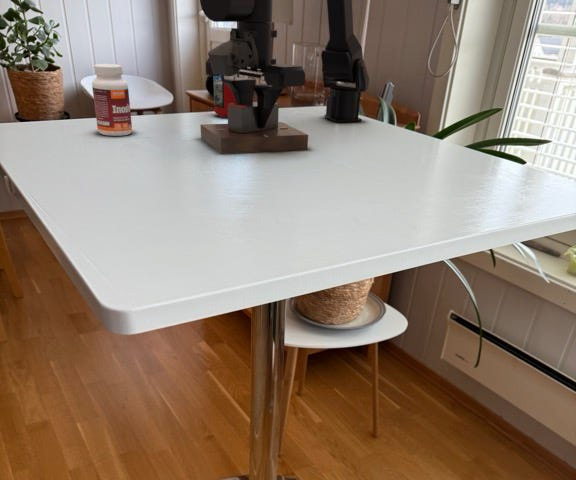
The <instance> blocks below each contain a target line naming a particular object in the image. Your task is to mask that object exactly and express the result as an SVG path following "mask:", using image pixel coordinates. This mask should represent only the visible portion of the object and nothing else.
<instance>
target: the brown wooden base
mask: <svg viewBox="0 0 576 480" xmlns="http://www.w3.org/2000/svg"><path fill="white" fill-rule="evenodd" d="M200 139H201V140H202V141H203V142H204V143H205V144H207V145H208V146H210V147H211V148H212V149H213V150H215V151H217V152H218V153H219V154H221V155H229V154H230V155H231V154H248V153H249V154H250V153H268V152H288V151H290V152H291V151H307V150H308V143H309V134H307V133H306V132H303V131H301V130H299V129H297V128H295V127H293V126H291V125H289V124H287V123H285V122H283V121H278V128H275V129H268V130H262V131H255V132H249V133H243V134H242V133H238V132H234V131H229V130H228V123H203V124H200Z"/></svg>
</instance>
